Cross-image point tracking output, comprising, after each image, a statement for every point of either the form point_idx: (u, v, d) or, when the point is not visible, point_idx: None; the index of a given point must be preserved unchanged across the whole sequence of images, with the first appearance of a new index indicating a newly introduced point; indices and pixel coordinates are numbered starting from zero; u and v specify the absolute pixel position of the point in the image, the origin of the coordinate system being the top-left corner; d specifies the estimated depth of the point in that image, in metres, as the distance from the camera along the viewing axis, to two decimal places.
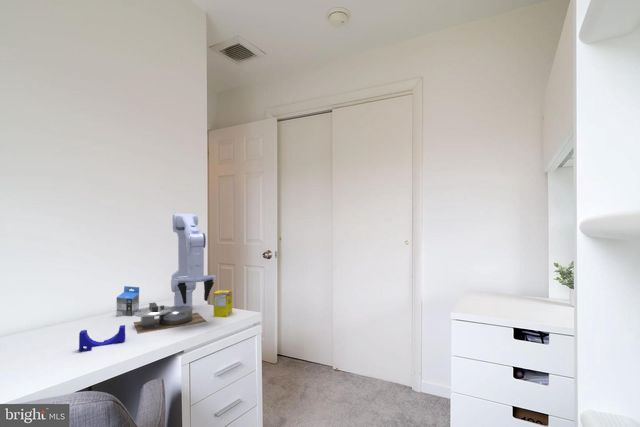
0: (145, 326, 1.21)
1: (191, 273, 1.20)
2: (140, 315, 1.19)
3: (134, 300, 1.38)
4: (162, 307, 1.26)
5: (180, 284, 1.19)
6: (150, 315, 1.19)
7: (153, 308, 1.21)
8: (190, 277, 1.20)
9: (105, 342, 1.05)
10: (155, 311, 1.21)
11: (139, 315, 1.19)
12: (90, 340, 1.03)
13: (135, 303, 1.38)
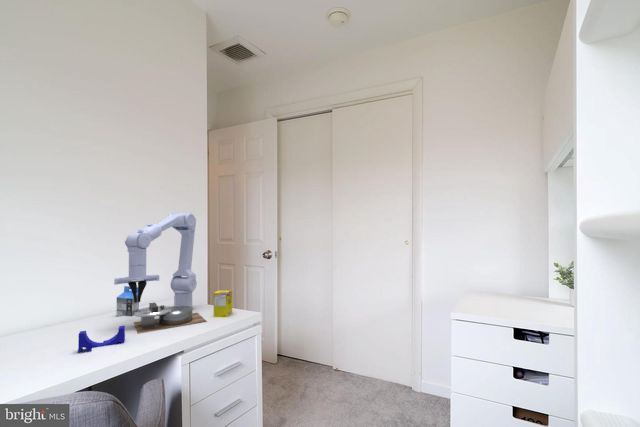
0: (145, 326, 1.21)
1: (131, 273, 1.19)
2: (140, 315, 1.19)
3: None
4: (162, 307, 1.26)
5: None
6: (150, 315, 1.19)
7: (153, 308, 1.21)
8: (130, 277, 1.19)
9: (104, 343, 1.05)
10: (155, 311, 1.21)
11: (139, 315, 1.19)
12: (89, 341, 1.03)
13: (135, 303, 1.38)
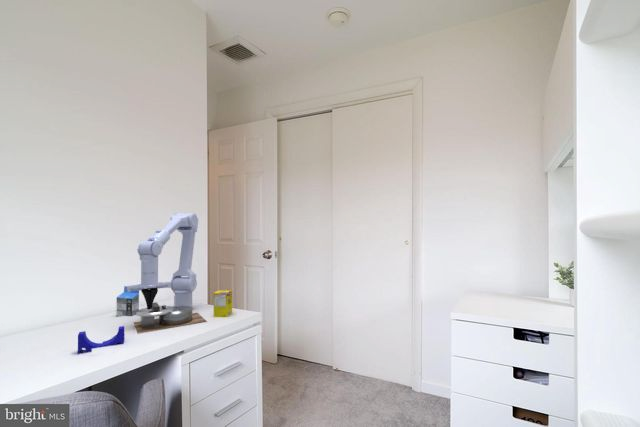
0: (145, 326, 1.21)
1: (144, 280, 1.21)
2: (142, 315, 1.19)
3: (134, 300, 1.38)
4: (164, 307, 1.26)
5: None
6: (152, 315, 1.19)
7: (155, 308, 1.21)
8: (143, 284, 1.21)
9: (104, 343, 1.04)
10: (157, 311, 1.22)
11: (141, 315, 1.19)
12: (89, 341, 1.02)
13: (135, 303, 1.38)
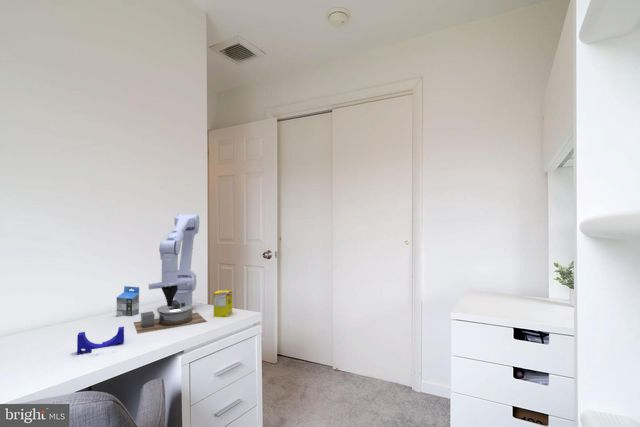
0: (145, 326, 1.21)
1: (165, 278, 1.25)
2: (163, 312, 1.23)
3: (134, 300, 1.38)
4: (183, 304, 1.30)
5: None
6: (173, 312, 1.23)
7: (175, 305, 1.25)
8: (164, 282, 1.25)
9: (103, 344, 1.04)
10: (177, 308, 1.26)
11: (162, 312, 1.23)
12: (88, 342, 1.01)
13: (135, 303, 1.38)
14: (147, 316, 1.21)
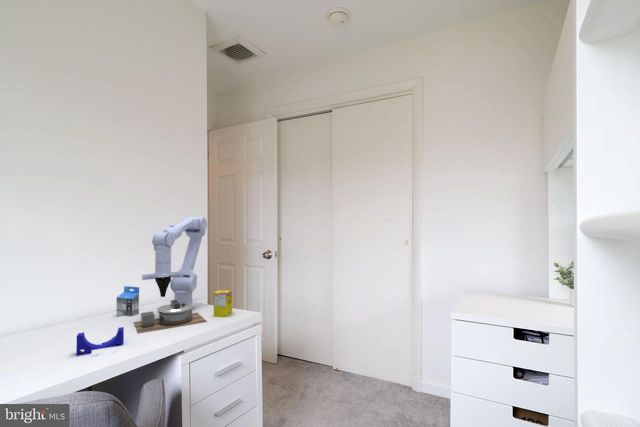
0: (145, 326, 1.21)
1: (158, 269, 1.28)
2: (163, 312, 1.23)
3: (134, 300, 1.38)
4: (183, 304, 1.30)
5: None
6: (173, 312, 1.23)
7: (175, 305, 1.25)
8: (157, 273, 1.28)
9: (103, 345, 1.03)
10: (177, 308, 1.26)
11: (162, 312, 1.23)
12: (88, 343, 1.01)
13: (135, 303, 1.38)
14: (147, 316, 1.21)
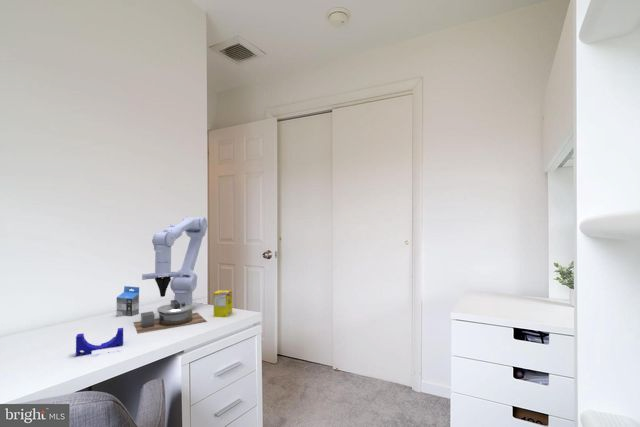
0: (145, 326, 1.21)
1: (158, 269, 1.29)
2: (163, 312, 1.23)
3: (134, 300, 1.38)
4: (183, 304, 1.30)
5: None
6: (173, 312, 1.23)
7: (175, 305, 1.25)
8: (157, 273, 1.29)
9: (102, 345, 1.02)
10: (177, 308, 1.26)
11: (162, 312, 1.23)
12: (87, 344, 1.00)
13: (135, 303, 1.38)
14: (147, 316, 1.21)
